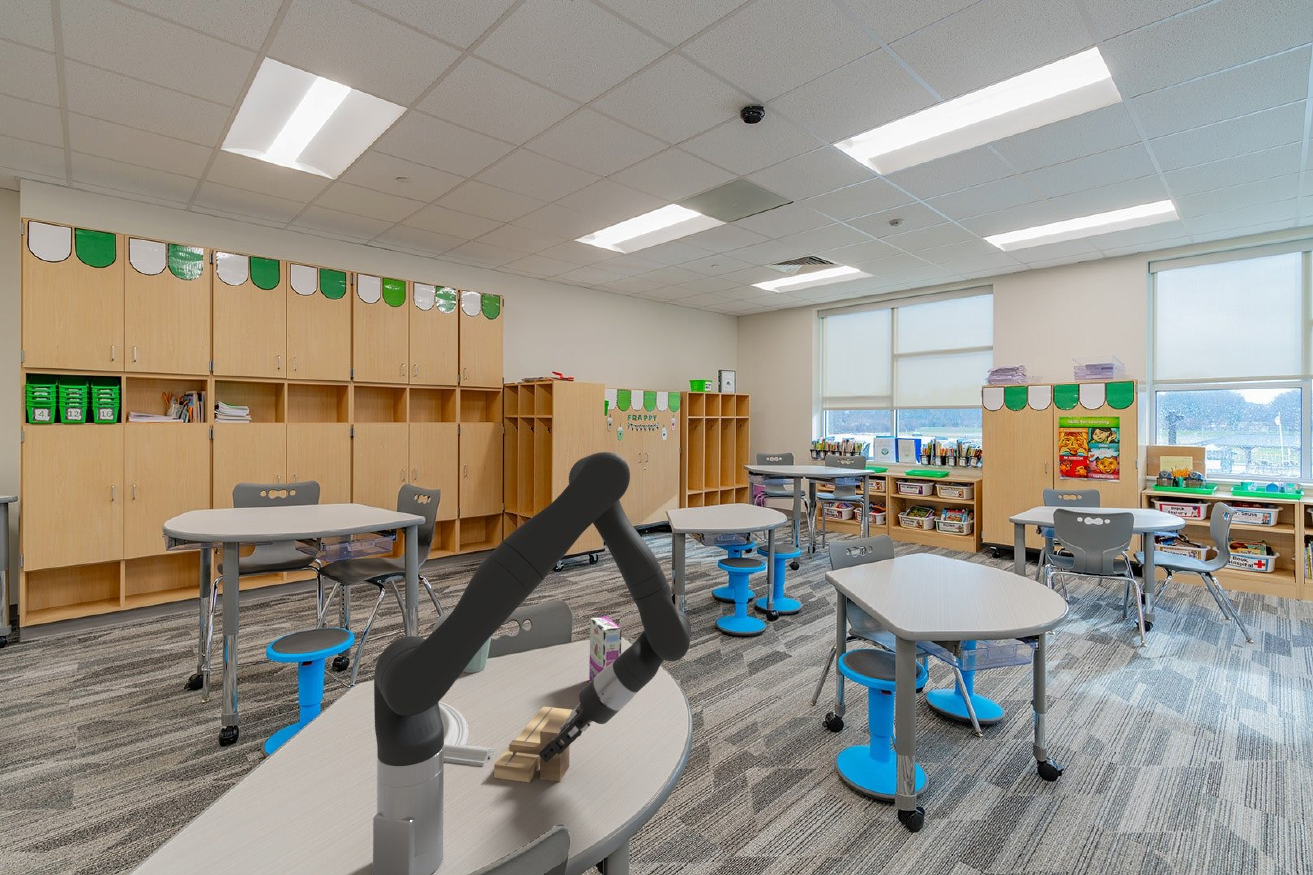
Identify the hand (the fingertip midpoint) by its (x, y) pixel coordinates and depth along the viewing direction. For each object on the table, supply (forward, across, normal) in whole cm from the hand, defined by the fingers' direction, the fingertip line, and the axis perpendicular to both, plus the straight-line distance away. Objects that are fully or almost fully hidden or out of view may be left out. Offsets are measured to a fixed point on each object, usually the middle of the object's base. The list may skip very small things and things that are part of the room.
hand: (551, 745), depth 113 cm
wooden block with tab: (+6, 0, +2) cm, 6 cm away
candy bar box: (+4, -39, +3) cm, 39 cm away
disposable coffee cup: (+31, -42, -24) cm, 57 cm away
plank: (+8, -8, -1) cm, 11 cm away
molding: (+24, -14, -16) cm, 33 cm away
